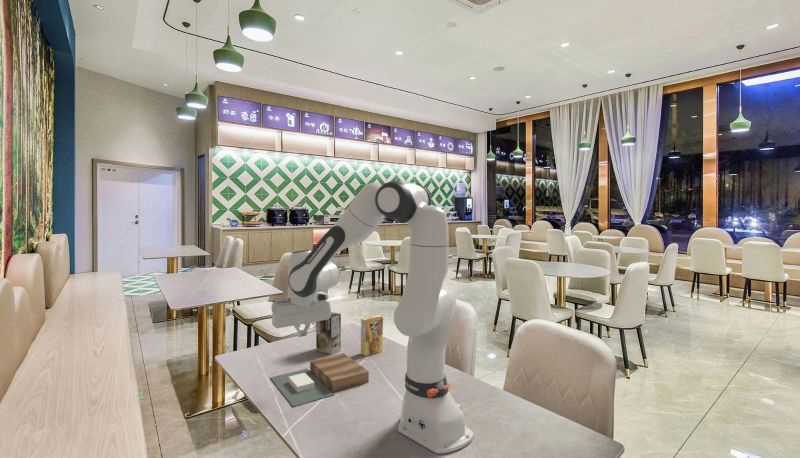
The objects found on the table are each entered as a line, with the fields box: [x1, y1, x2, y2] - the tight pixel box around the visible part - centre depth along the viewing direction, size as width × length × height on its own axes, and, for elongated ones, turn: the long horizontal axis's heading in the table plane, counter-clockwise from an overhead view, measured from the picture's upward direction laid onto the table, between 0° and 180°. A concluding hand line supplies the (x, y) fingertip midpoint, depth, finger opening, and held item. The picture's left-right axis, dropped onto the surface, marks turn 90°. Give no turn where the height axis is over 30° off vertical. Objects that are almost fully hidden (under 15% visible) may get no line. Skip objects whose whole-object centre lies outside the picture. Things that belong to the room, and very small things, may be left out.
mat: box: [269, 368, 335, 408], centre depth 137 cm, size 24×14×1 cm, turn 35°
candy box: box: [360, 314, 384, 357], centre depth 168 cm, size 9×4×15 cm, turn 129°
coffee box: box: [315, 311, 342, 356], centre depth 169 cm, size 9×6×16 cm
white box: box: [289, 373, 314, 392], centre depth 137 cm, size 9×6×2 cm, turn 35°
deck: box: [309, 352, 370, 393], centre depth 145 cm, size 20×14×4 cm
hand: (302, 335), depth 136 cm, fingers closed
